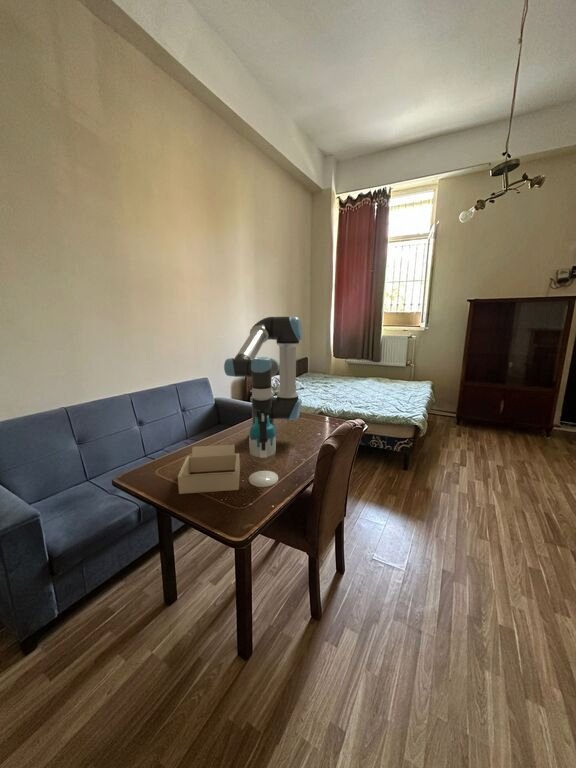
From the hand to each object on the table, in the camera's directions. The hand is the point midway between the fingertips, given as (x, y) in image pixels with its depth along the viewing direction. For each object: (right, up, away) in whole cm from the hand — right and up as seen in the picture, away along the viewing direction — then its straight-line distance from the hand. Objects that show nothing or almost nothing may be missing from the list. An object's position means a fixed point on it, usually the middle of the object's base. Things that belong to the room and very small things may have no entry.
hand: (262, 451), depth 125 cm
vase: (0, -4, +1) cm, 5 cm away
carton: (-21, -12, +2) cm, 24 cm away
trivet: (0, -12, +3) cm, 12 cm away
